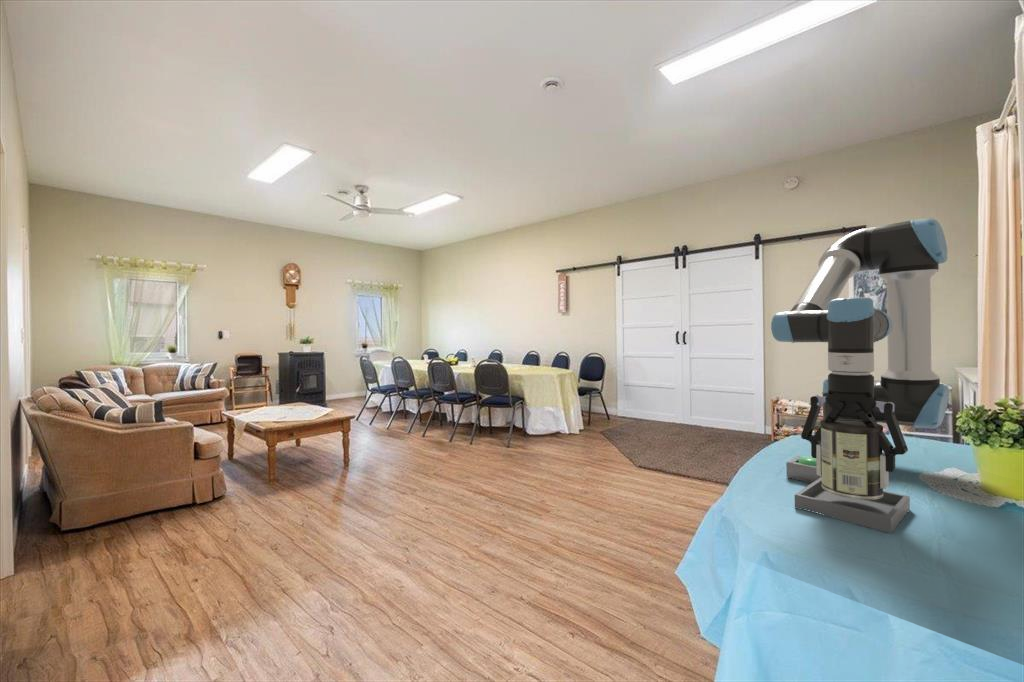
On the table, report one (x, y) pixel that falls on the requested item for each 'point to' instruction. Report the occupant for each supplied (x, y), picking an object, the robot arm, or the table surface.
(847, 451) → the coffee can
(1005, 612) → the table surface
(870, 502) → the shallow gray tray
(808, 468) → the button housing
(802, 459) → the button
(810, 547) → the table surface
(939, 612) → the table surface
